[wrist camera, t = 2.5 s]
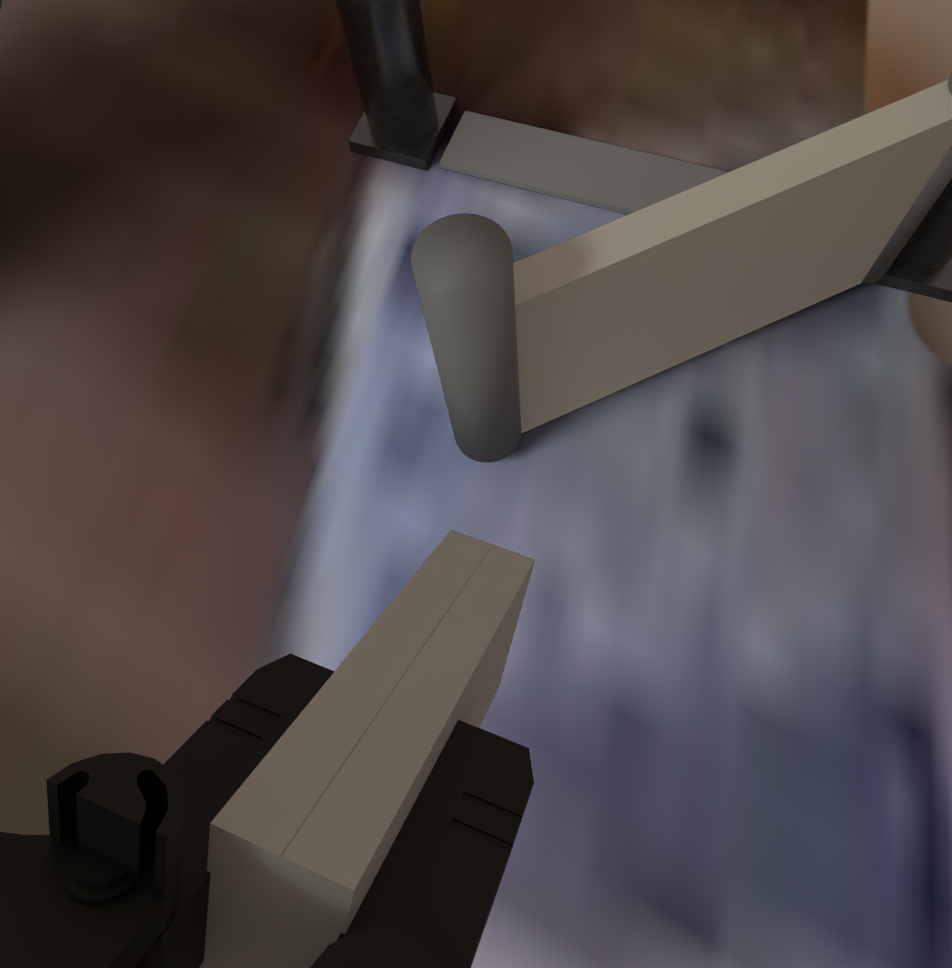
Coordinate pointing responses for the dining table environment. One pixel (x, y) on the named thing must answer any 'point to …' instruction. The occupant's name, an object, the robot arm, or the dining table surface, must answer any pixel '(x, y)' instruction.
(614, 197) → the strip
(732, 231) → the gate
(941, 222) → the hinge post
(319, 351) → the dining table surface
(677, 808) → the dining table surface
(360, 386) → the dining table surface
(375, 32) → the post
